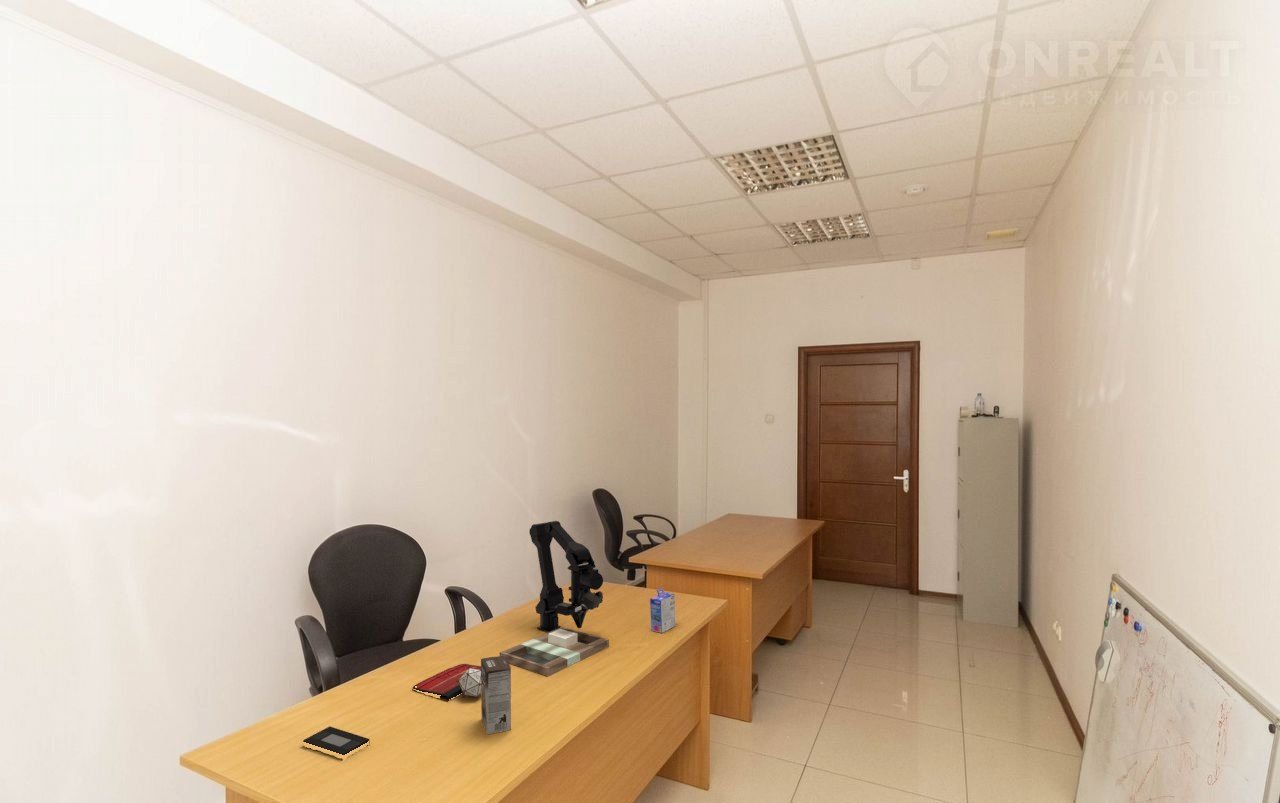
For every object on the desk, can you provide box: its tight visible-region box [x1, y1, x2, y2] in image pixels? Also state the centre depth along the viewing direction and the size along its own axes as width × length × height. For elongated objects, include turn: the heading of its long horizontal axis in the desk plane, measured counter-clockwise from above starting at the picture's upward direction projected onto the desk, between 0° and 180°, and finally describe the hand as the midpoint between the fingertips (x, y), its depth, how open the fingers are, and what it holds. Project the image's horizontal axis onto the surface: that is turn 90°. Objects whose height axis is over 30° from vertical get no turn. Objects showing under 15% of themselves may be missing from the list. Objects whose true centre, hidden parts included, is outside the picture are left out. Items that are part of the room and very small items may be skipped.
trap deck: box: [499, 626, 610, 677], centre depth 211 cm, size 22×30×2 cm
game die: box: [455, 664, 481, 700], centre depth 180 cm, size 9×8×10 cm
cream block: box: [548, 629, 578, 648], centre depth 214 cm, size 8×6×3 cm
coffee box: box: [480, 655, 512, 735], centre depth 163 cm, size 9×6×16 cm
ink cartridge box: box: [649, 587, 677, 634], centre depth 235 cm, size 10×6×14 cm, turn 145°
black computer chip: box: [302, 726, 370, 755], centre depth 153 cm, size 8×14×2 cm, turn 64°
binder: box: [412, 663, 481, 701], centre depth 189 cm, size 16×2×21 cm
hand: (579, 628), depth 221 cm, fingers closed
